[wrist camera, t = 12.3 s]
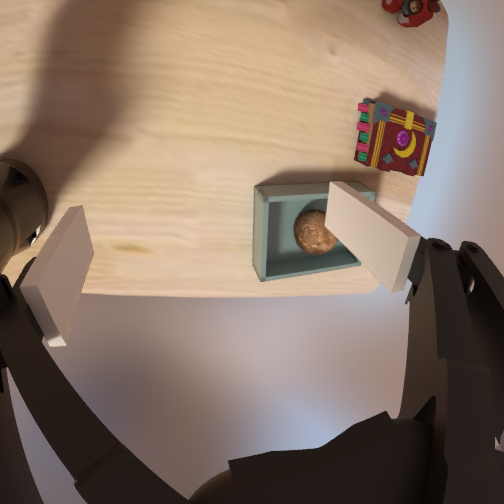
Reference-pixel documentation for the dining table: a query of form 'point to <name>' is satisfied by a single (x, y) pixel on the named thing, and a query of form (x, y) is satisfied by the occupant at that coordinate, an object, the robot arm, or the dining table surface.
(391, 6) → the toy fire truck
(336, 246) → the open rectangular box
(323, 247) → the mushroom
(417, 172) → the decorative book
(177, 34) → the dining table surface
